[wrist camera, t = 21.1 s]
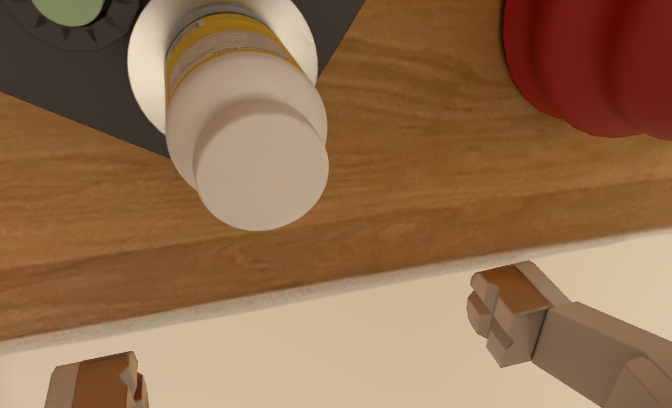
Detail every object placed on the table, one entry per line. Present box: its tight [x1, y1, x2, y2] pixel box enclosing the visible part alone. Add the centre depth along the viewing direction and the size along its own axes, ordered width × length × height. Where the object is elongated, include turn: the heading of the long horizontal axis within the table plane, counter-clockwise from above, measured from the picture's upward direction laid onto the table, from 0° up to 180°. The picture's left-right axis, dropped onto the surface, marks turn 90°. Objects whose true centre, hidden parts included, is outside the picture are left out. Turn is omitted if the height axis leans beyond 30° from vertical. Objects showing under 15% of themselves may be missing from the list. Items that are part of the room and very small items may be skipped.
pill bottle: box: [164, 11, 329, 231], centre depth 22 cm, size 6×6×12 cm
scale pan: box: [126, 0, 318, 136], centre depth 27 cm, size 10×10×1 cm
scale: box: [0, 0, 365, 159], centre depth 27 cm, size 16×14×4 cm
